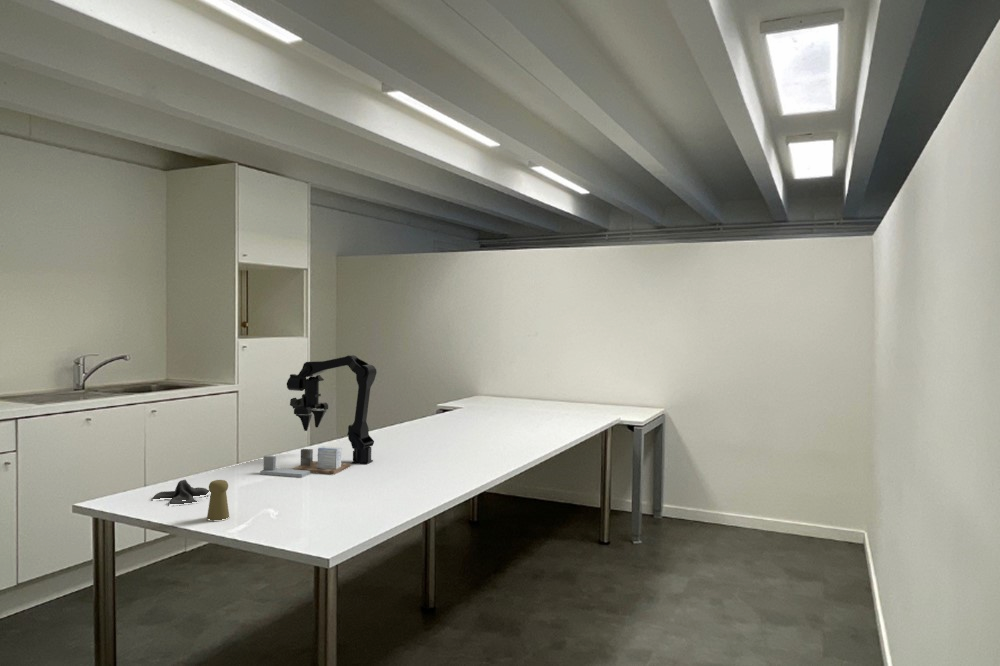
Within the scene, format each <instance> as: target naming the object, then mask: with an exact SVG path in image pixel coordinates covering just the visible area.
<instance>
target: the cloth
mask: <svg viewBox="0 0 1000 666" xmlns="http://www.w3.org/2000/svg"><path fill="white" fill-rule="evenodd" d="M208 492H209V489H207V488H206V487H198V486H197V487H192V486H191V485H190V484H189V482H188V481H187V479H181V480H179V481H178V482H177V484H176V487H175V489H174V490H170V491H169V490H168V491H167V490H166V491H160V492H157V493H155V495H154V496H153V497H152V498H151V500H152V499H160V498H172V499H171V500H168V504H169V503H170V504H184V503H192V502H197V501H198V500H196V499H195V498H193V496H200V495H206V494H207V493H208ZM204 497H206V496H204ZM182 500H186V501H182Z"/></svg>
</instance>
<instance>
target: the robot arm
mask: <svg viewBox="0 0 1000 666" xmlns="http://www.w3.org/2000/svg"><path fill="white" fill-rule="evenodd" d="M342 367H348V368H349V369H350V370H351V371H352V373H354V374H355V376H356V377H355V378H356V379H355V381H356V382H357V385H358V389H357V398H356V404H355V413H354V420H353V422H352V423H353V424H349V425H348V427H347V429H348V430H347V434H346V436H347V439H348V441H349V442H350V445H351V448H352V449H353V451H352V462H351V464H356V463H360V464H359V465H368V464H370V463H373V462H374V459H372V447H373V446H374V443H375V440H374V439H373V438H372V437H371V436H370V434H369V429H370V428H369V425H368V423H367V418H368V410H369V405H370V404H369V403H370V402H369V401H370V395H371V388H372V385H373V384H374V382H375V379H376V376H377V368H376V367H375V366H374V365H373V364H370V363H368V362H366V361H364V360H362V359H360V358H359V357H357V356H356V355H353V354H350V355H346V356H343V357H337V358H332V359H328V360H314V361H313V360H312V361H305V362H304V363H303V364H302V368H301V370H300V371H299V373H298V374H296V373H292V374H290V375H289V378H288V379H287V382H286V388H287V390H289V391H293V392H294V391H295V392H297V391H299V392H303V391H304V393H303V394H301V397H300V398H297V397H292V398H290V401H289V406H290V407H291V408H292V409H293V414H294V415H295V416H296V417H298V418H299V419H300V422H301V425H302V427H303V430H304V432H307V431H308V430H309V426H310V422H311V419H312V416H313V418H314V426H315V428H319V426H320V424H321V422H322V421H323V418H324V415H325V414H326V413H327V411H328V410H329V404H328V402H322V401H320V400H319V399H320V397H322V394H321V393H320V382H323V381H325V379H324V378H323V377H322V376H321V375H320V374H322V373H324V372H326V371H329V370H333V369H337V368H342ZM367 463H368V464H367Z"/></svg>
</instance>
